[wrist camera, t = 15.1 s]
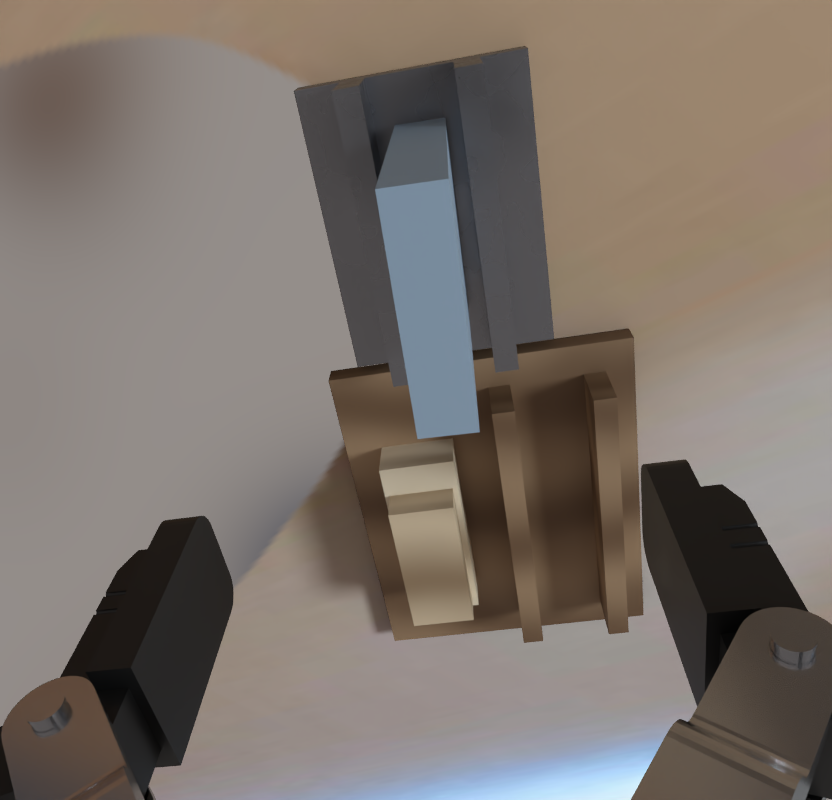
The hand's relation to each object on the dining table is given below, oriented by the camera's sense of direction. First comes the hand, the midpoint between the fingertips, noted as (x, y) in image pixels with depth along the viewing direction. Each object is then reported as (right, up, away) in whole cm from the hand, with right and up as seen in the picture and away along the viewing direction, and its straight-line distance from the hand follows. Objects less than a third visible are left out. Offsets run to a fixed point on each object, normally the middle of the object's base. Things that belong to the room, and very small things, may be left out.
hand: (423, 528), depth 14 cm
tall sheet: (+1, +10, +17) cm, 20 cm away
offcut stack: (+1, -4, +25) cm, 25 cm away
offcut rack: (+4, -3, +25) cm, 26 cm away
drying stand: (+1, +10, +18) cm, 21 cm away
